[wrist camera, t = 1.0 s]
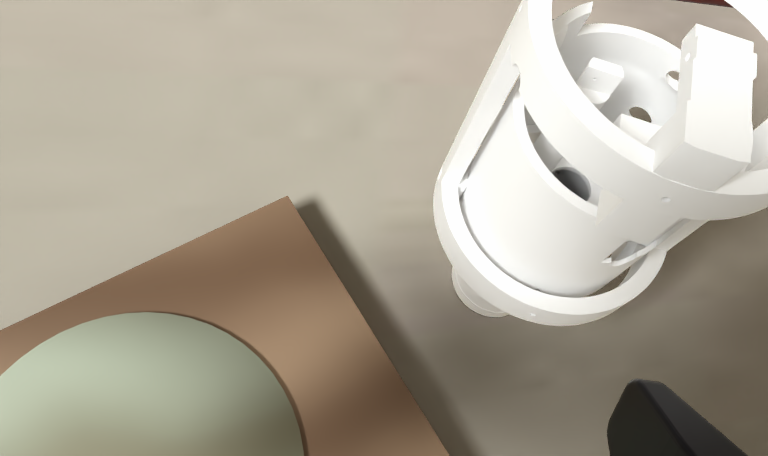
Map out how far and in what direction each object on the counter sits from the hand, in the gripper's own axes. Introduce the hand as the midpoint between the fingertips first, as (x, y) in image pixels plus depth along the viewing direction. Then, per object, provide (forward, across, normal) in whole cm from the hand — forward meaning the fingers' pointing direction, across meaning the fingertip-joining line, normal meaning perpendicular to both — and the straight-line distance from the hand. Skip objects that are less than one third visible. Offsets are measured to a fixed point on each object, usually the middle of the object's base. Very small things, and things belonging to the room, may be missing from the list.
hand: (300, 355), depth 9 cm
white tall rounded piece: (+15, -7, +8) cm, 18 cm away
